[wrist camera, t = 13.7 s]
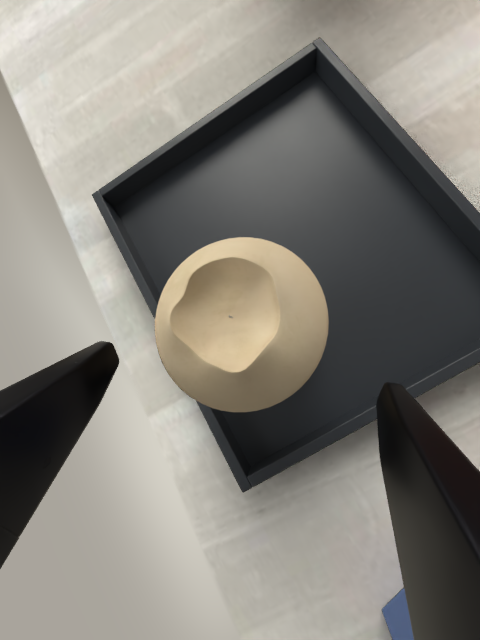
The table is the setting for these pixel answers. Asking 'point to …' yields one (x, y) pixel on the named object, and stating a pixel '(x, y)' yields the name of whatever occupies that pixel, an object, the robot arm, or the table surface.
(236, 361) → the candle
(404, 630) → the blue block
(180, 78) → the table surface
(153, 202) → the tray
